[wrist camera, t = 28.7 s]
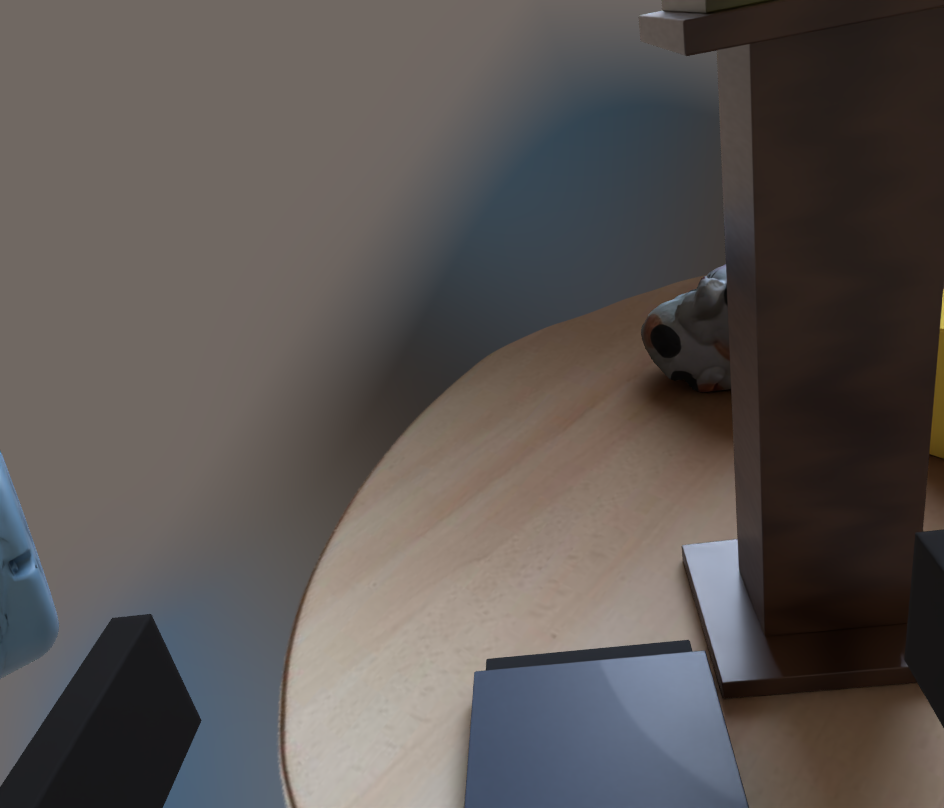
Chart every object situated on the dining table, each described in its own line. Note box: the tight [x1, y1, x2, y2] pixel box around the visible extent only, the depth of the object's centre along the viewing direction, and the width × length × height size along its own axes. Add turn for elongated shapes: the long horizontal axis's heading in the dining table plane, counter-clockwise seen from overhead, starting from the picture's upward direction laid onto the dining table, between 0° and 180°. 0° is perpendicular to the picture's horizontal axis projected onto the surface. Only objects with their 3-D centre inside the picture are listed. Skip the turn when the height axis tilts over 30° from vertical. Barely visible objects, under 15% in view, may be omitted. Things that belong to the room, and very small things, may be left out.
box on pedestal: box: [639, 0, 944, 699], centre depth 38 cm, size 14×12×39 cm
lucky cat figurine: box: [641, 264, 731, 392], centre depth 73 cm, size 15×12×14 cm
